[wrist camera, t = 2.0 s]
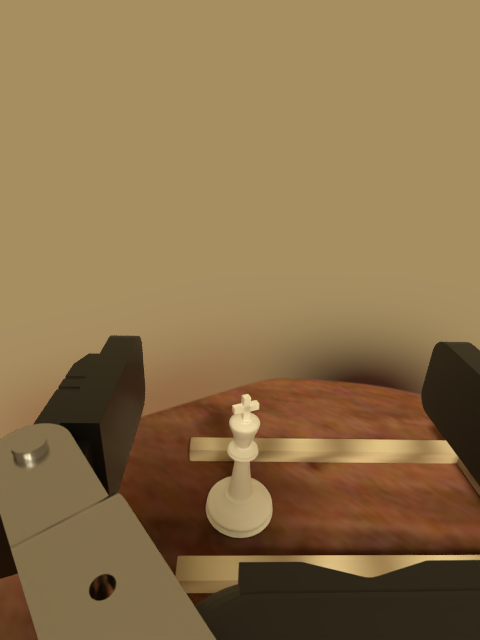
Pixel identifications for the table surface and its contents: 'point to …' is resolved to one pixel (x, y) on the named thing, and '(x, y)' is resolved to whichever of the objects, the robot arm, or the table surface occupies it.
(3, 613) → the table surface
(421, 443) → the track
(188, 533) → the table surface
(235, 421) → the chess piece
